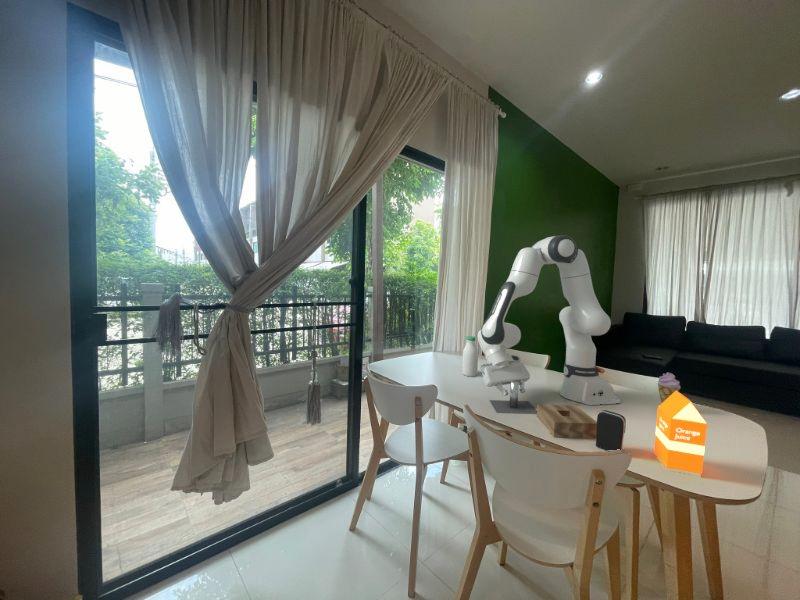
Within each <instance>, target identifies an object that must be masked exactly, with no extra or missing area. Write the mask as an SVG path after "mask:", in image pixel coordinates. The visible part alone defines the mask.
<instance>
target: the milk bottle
mask: <svg viewBox="0 0 800 600" xmlns="http://www.w3.org/2000/svg"><path fill="white" fill-rule="evenodd" d="M465 339H466V343H465V346H464V348H463V350H462V362H461V364H462V365H461V366H462V367H461V373H462V376H464V377H471V378H473V376H474V377H476V376H478V370H479V369H478V368H479V367H478V364H479V352H478V348H477V345H476V336H473V335H469V336H466V337H465Z"/></svg>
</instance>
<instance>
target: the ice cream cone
mask: <svg viewBox="0 0 800 600" xmlns="http://www.w3.org/2000/svg"><path fill="white" fill-rule="evenodd" d="M680 383H681V382H680V381H679V380H677V379H676V376H675V375H674V374H673V373H671V372H666V373H662V375H661V376H659V377H658V382H657V388H658V394H659V398H660V402H661V404H662V403H663V402H664V401H665V400H666V399H667V398H668V397H669V396H671V395H672V394H673V393H674V392H675V391H678V392H679V391H680V389H681V385H680Z"/></svg>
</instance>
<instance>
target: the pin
mask: <svg viewBox="0 0 800 600" xmlns="http://www.w3.org/2000/svg"><path fill="white" fill-rule="evenodd" d="M509 386H510V387H509V389H510V390H509V401H510V404H509V407H511V408H517V406H518V401H519V389H520V385H519V382H518V381H511V384H509Z"/></svg>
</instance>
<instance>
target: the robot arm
mask: <svg viewBox="0 0 800 600" xmlns="http://www.w3.org/2000/svg"><path fill="white" fill-rule="evenodd" d="M577 246H578V245H577V244H576V242H575V240H574V239H573V238H572V237H571V236H569V235H564V234H563V235H562V234H560V235H553V236H549V237H546V238H543V239H540V240H537V241H536V242H534V243H533V244H532V245H531V246H530V247H524V248H522V249H520V250H519V251H518V252H517V254H516V257H515V259H514V261H513V264H512V266H511V267H512V268H511V270H510V271H509V272H510V273H509V276H508V277H507V280H506V281H505V282H504V283H503V284H502V285H501V287H500V289H499V290H498V293H497V296H496V298H495V300H494V302H493V305H492V307H491V310H490V311H489V314H488V316H487V317H486V319H485V320H484V322H483V323H482V326H481V329H479V331H478V333H477V337H476V338H477V340H478V341H477V342H478V344H479V346H480V349H481V352H482V353H483V354H484V355H485V359H486V360H485V361H486V362H487V363H482V364H481V365H480V368H479V369H480V372H481V374H482V378H483V381H484V384H485V386H487V387H488V388H491V387H492V388H493V387H495V388H496V389H497V390H499V392H501V394H502V396H504V397H505V396H508V395H510V392H508V389H505V388H504V387H503V386H505V385H510V384H511V381H518V382H519V388H518V392H520V393H521V394H524V393H526V392H527V389H526V388H525V383H526V382H528V380H530V377H531V375H530V372H529V371H528V369H527V367H526V365H525V364H524V363H523V362H522V359H521V357H520V356H519V355H514V354H510V353H508V352H507V350H508V349H511V348H513V347H514V346H516V345H518V344H519V343H520V341H521V338H522V331H521V329H520V328H519V326H517V325H516V324H513V323H509V322H505V318H506V316H507V314H508V311H509V308H510V307H511V305H512V303H513V301H515V300H516V299H518V298H521V297H524V296H527V295H529V294H531V293H532V292H533V291H534V290H535V289H536V286H537V284H538V281H539V276H540V273H541V269H542V268H543V266H544V265H554V264H555V265H556V266H557V268H558V270H559V276H560V277H559V278H560V283H561V289H562V293H563V297H564V298H565V299H566V300H567V302H568V304H569V306H565V307H564V308H562V309H561V310H560V312H559V314H558V315H559V317H558V318H559V322H560V323H561V325H562V328H563V334H564V338H565V346H566V347H565V350H566V351H565V362H564V363H563V364H564V365H563V375H564V376H563V380H562V381H563V382H562V384H561V389H560V391H559V395H560V396H561V397H564V398H565V399H568V400H570V401H573V402H578V403H581V404H584V405H587V406H596V405H597V406H599V405H600V404H602V405H616V403H619V404H621V400H620V398H619V397H618V396H616V395H615V391H614V387H613V386H612V384H611V383H609V382H608V381H607V380H606V379H605V378H604V377H602V376H601V375H603V374H604V373H605V369H603V368H602V367H598V366H596V359H597V358H596V356H597V348H596V346H595V343H594V342H593V340H592V336H595V337H596V336H602V335H605V334H606V333H608V331H609V330H610V328H611V324H612V321H611V317H610V316H609V315H608V313H606V311H604V309H603V308H602V307H601V304H600V303H599V300H598V298H597V296H596V293H595V291H594V285H593V281H592V276H591V270H590V266H589V263H588V259H587V257H586V253H584V251H583V250H582V249H579V248H578V247H577ZM599 373H600V374H601V375H600V374H599Z"/></svg>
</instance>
